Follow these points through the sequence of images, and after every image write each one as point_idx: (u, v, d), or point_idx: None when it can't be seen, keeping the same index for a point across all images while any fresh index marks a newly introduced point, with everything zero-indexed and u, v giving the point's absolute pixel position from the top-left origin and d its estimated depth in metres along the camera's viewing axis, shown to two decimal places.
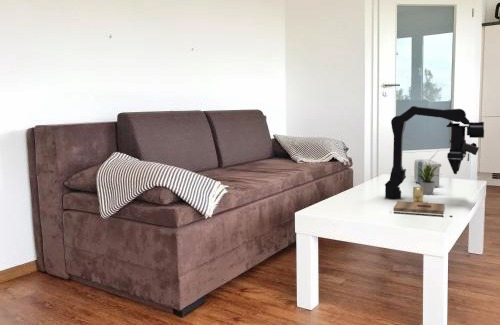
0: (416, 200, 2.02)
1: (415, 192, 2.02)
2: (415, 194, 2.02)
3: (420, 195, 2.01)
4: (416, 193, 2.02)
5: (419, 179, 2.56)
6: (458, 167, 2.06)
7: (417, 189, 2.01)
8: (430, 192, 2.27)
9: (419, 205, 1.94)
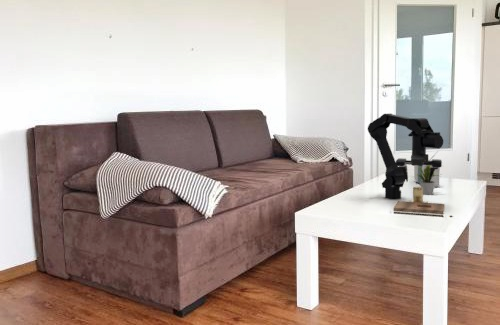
0: (416, 200, 2.02)
1: (415, 192, 2.02)
2: (415, 194, 2.02)
3: (420, 195, 2.01)
4: (416, 193, 2.02)
5: (419, 179, 2.56)
6: None
7: (417, 189, 2.01)
8: (430, 192, 2.27)
9: (419, 205, 1.94)
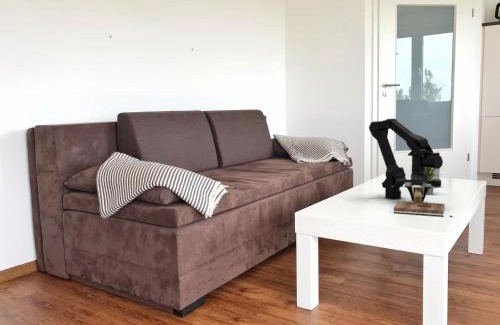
0: (416, 200, 2.02)
1: (415, 192, 2.02)
2: (415, 194, 2.02)
3: (420, 195, 2.01)
4: (416, 193, 2.01)
5: None
6: None
7: (417, 189, 2.01)
8: (430, 192, 2.27)
9: (419, 205, 1.94)
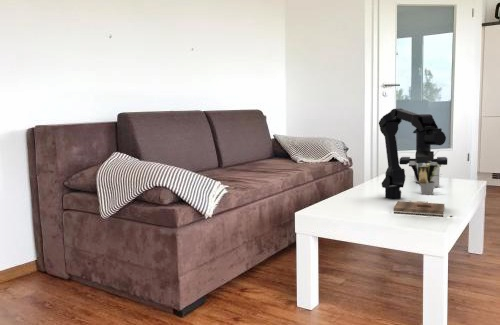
0: (421, 179, 1.92)
1: (420, 171, 1.93)
2: (420, 173, 1.93)
3: (425, 174, 1.92)
4: (421, 171, 1.92)
5: None
6: (428, 177, 1.93)
7: (422, 168, 1.92)
8: (430, 192, 2.27)
9: (419, 205, 1.94)
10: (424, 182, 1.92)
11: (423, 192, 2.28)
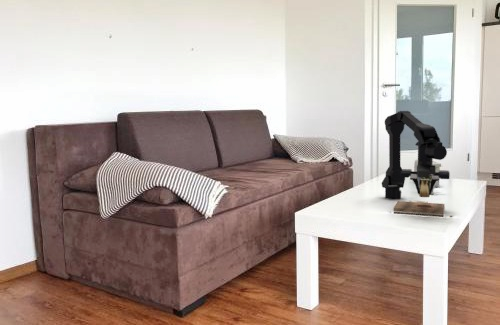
0: (423, 193, 1.89)
1: (421, 184, 1.89)
2: (421, 187, 1.89)
3: (427, 188, 1.88)
4: (422, 185, 1.88)
5: (419, 179, 2.56)
6: None
7: (423, 181, 1.88)
8: None
9: (419, 205, 1.94)
10: (425, 196, 1.88)
11: None
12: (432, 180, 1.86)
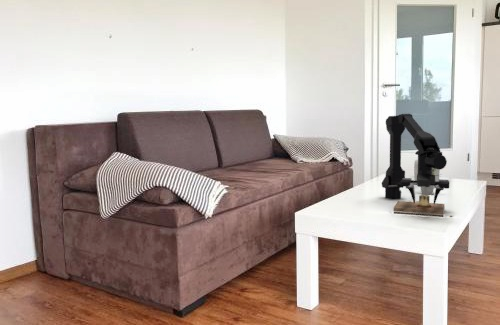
0: None
1: (421, 201, 1.89)
2: (421, 203, 1.89)
3: (426, 204, 1.89)
4: (422, 201, 1.89)
5: None
6: None
7: (423, 198, 1.89)
8: (430, 192, 2.27)
9: None
10: None
11: (423, 192, 2.28)
12: (436, 189, 1.85)
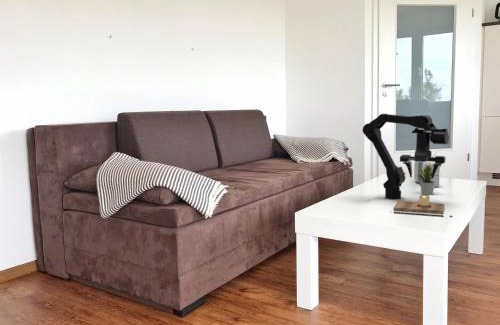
0: None
1: (421, 201, 1.89)
2: (421, 203, 1.89)
3: (426, 204, 1.89)
4: (422, 201, 1.89)
5: (419, 179, 2.56)
6: (432, 174, 2.04)
7: (423, 198, 1.89)
8: (430, 192, 2.27)
9: None
10: None
11: (423, 192, 2.28)
12: (434, 165, 2.01)
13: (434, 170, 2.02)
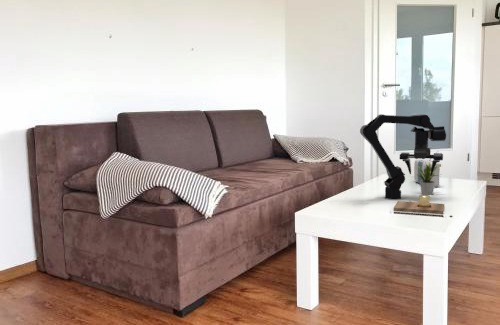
0: None
1: (421, 201, 1.89)
2: (421, 203, 1.89)
3: (426, 204, 1.89)
4: (422, 201, 1.89)
5: (419, 179, 2.56)
6: None
7: (423, 198, 1.89)
8: (430, 192, 2.27)
9: None
10: None
11: (423, 192, 2.28)
12: (433, 161, 2.09)
13: (433, 167, 2.11)
